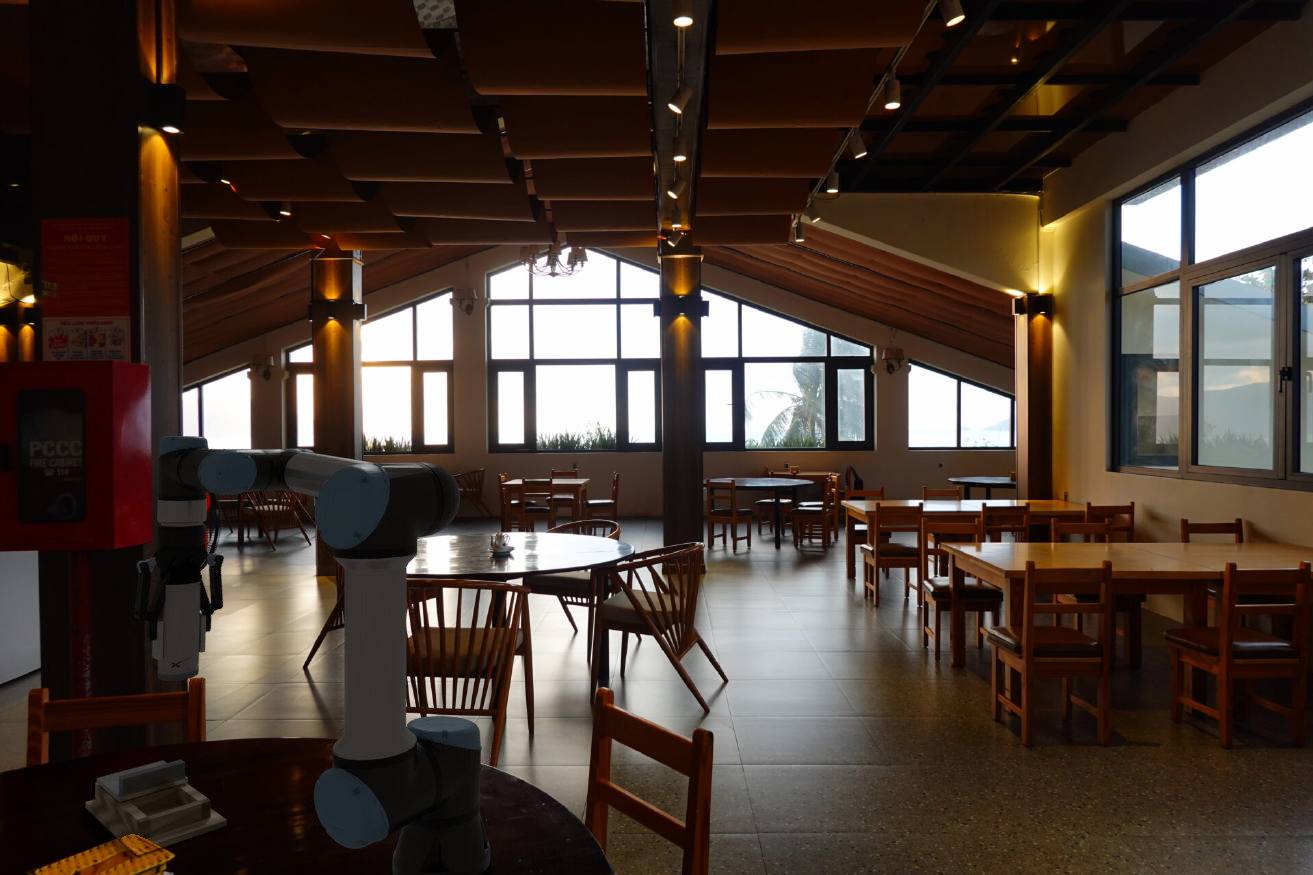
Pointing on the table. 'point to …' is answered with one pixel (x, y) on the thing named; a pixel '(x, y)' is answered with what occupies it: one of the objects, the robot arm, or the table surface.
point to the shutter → (144, 779)
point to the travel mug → (180, 624)
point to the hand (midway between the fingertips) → (179, 654)
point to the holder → (157, 814)
